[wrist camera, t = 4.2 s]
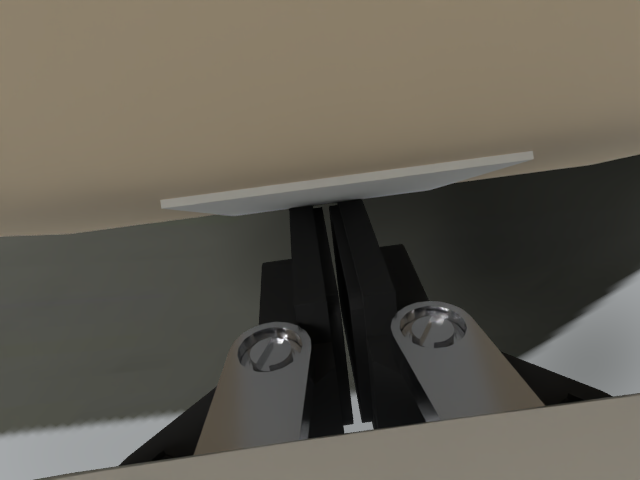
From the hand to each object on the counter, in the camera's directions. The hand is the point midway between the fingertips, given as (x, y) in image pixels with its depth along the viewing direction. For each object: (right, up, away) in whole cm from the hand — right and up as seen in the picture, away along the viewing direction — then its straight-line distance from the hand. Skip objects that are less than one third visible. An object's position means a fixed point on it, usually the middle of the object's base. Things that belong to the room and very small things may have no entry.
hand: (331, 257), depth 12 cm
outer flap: (0, +2, -7) cm, 7 cm away
